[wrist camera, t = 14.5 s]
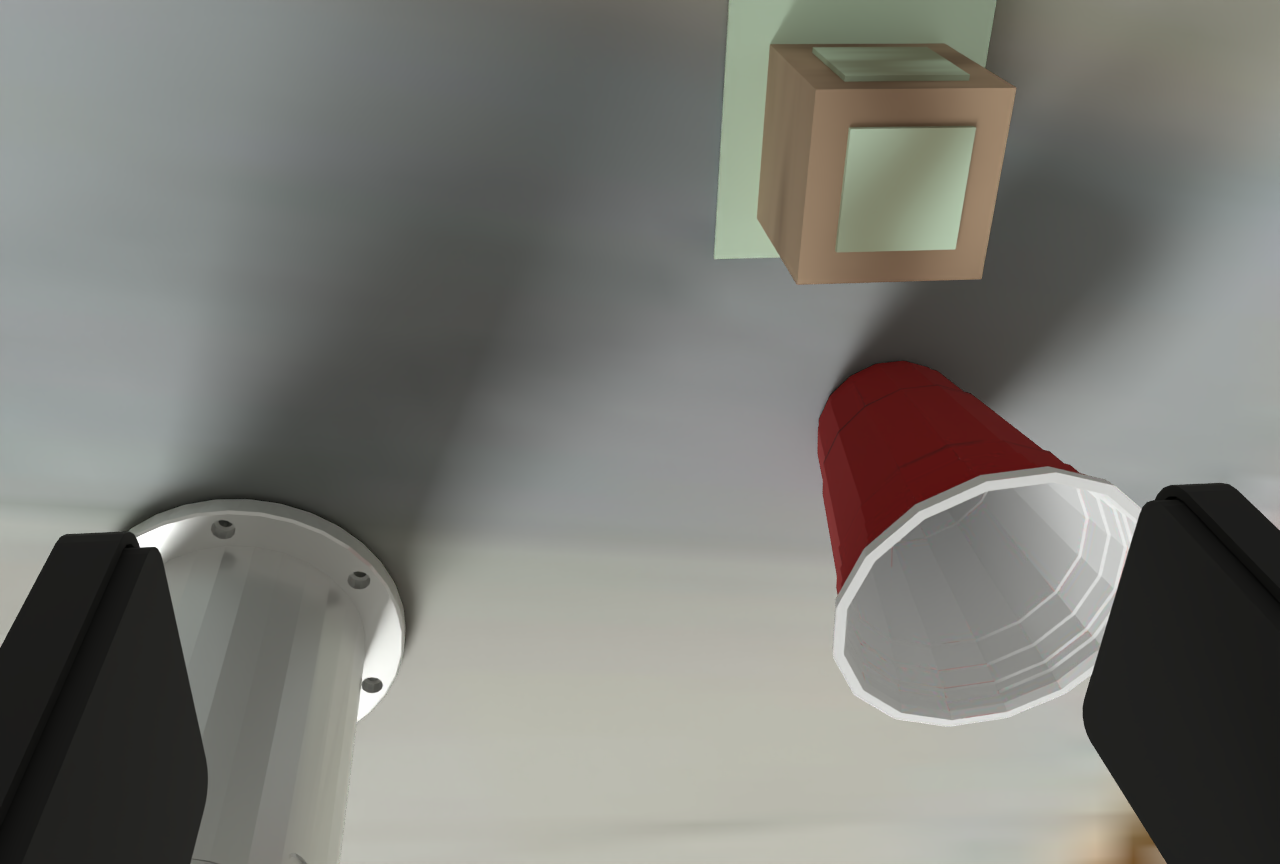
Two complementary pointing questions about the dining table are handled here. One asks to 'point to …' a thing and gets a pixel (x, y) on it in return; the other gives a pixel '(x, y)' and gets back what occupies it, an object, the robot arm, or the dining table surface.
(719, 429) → the dining table surface
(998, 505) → the plastic cup
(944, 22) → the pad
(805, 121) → the letter block
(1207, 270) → the dining table surface
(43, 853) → the robot arm
